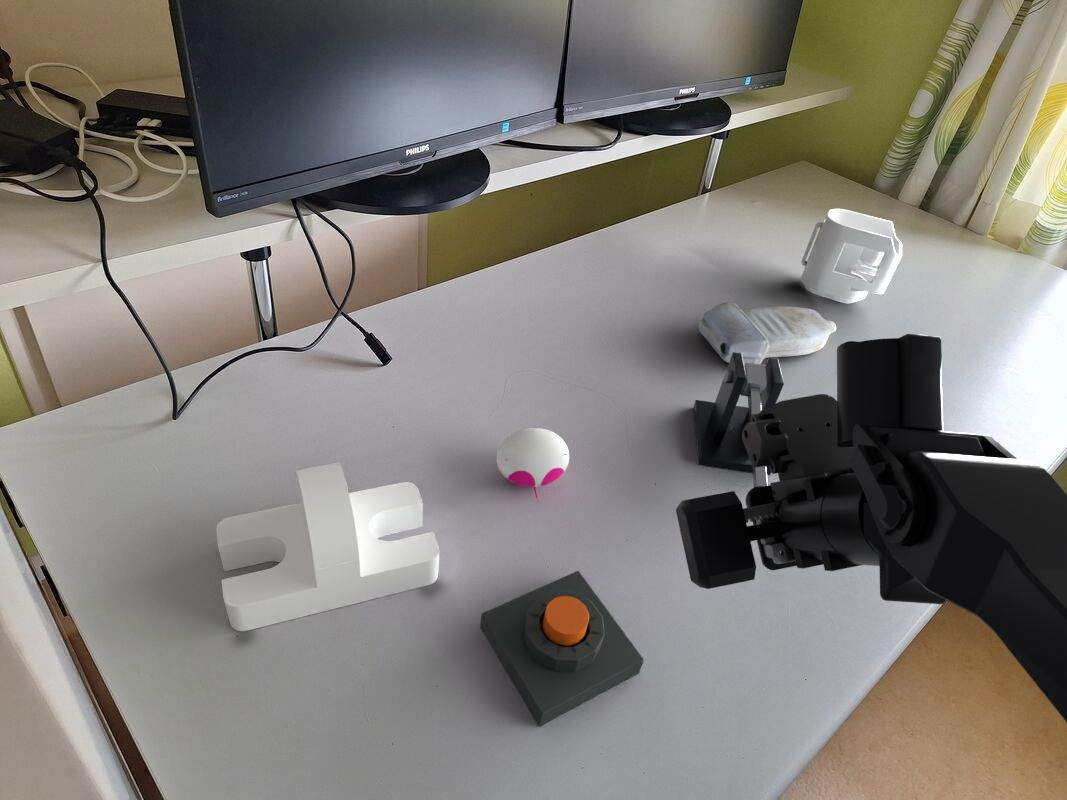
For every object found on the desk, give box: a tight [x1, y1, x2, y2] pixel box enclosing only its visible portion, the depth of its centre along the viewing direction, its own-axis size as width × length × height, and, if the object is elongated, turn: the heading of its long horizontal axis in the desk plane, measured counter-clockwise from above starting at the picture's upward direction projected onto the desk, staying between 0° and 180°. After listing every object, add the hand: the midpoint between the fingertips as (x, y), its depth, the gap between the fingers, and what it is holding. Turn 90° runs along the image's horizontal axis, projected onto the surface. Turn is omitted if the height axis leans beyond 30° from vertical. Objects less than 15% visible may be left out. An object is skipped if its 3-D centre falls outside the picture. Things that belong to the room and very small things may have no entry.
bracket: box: [692, 352, 785, 476], centre depth 85 cm, size 10×8×11 cm
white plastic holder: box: [800, 208, 903, 304], centre depth 113 cm, size 7×12×12 cm, turn 69°
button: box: [543, 596, 589, 646], centre depth 62 cm, size 4×4×2 cm
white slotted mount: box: [215, 462, 440, 632], centre depth 66 cm, size 10×18×11 cm, turn 112°
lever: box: [740, 362, 768, 508], centre depth 78 cm, size 18×3×3 cm, turn 175°
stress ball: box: [496, 427, 570, 505], centre depth 79 cm, size 8×8×7 cm
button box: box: [479, 570, 645, 727], centre depth 64 cm, size 10×10×4 cm
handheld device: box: [698, 301, 837, 365], centre depth 103 cm, size 10×20×5 cm, turn 110°
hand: (766, 522), depth 62 cm, fingers closed
